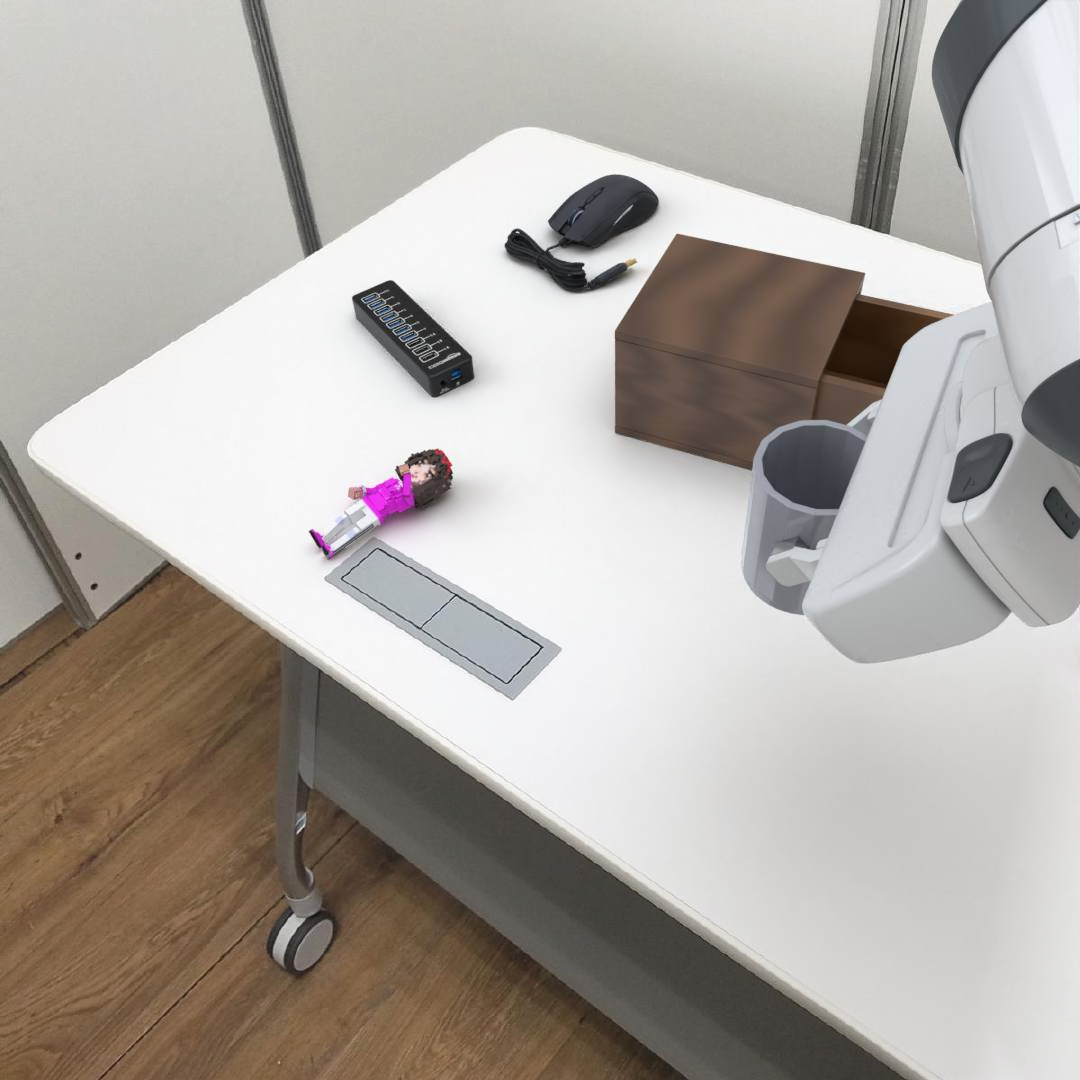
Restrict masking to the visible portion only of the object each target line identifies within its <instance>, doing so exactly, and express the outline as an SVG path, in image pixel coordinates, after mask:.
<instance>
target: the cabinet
mask: <svg viewBox="0 0 1080 1080" xmlns="http://www.w3.org/2000/svg"><path fill="white" fill-rule="evenodd" d="M865 277H866V272H863V271H858V270H855V269H854V270H853V269H848V268H843V267H840V266H834V265H829V264H824V263H821V262H816V261H810V260H806V259H801V258H796V257H791V256H786V255H782V254H777V253H773V252H768V251H763V250H759V249H758V250H757V249H753V248H748V247H744V246H739V245H734V244H730V243H725V242H720V241H715V240H710V239H707V238H706V239H705V238H700V237H696V236H691V235H686V234H682V233H676V234H675V235H674V237H673V239H672V240H671V242H670V243H669V245H668V247H667V248H666V249H665V251H664V252H663V254H662V255H661V258H660V259H659V260H658V262H657V264H656V265H655V267H654V269H653V270H652V271H651V273H650V274H649V276H648V278H647V279H646V280H645V282H644V284H643V286H642V287H641V289H640V290H639V292H638V294H637V295H636V296H635V298H634V300H633V301H632V303H631V304H630V306H629V308H627V311H626V312H625V314H624V316H623V317H622V319H621V320H620V322H619V323H618V325H617V327H616V328H615V330H614V434H618V435H621V436H626V437H629V438H633V439H637V440H640V441H642V442H648V443H651V444H655V445H658V446H662V447H666V448H669V449H673V450H676V451H680V452H683V453H687V454H692V455H695V456H698V457H702V458H705V459H709V460H713V461H717V462H720V463H724V464H728V465H732V466H735V467H739V468H743V469H746V470H749V471H752V468H753V460H754V456H755V454H756V451H757V449H758V447H759V445H760V443H761V441H762V440H763V439H764V438H765V437H767V436H768V435H769V434H770V433H772V432H773V431H774V430H776V429H777V428H779V427H781V426H784V425H787V424H791V423H794V422H797V421H801V420H813V417H814V411H815V406H816V401H817V395H818V390H819V384H820V381H821V378H822V376H823V374H824V372H825V369H826V367H827V365H828V362H829V360H830V358H831V355H832V353H833V351H834V348H835V346H836V344H837V342H838V339H839V337H840V335H841V332H842V330H843V328H844V325H845V323H846V321H847V319H848V316H849V314H850V312H851V309H852V307H853V305H854V302H855V300H856V298H857V295H858V294H861V295H862V292H863V286H864V282H865Z"/></svg>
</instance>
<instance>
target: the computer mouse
mask: <svg viewBox="0 0 1080 1080" xmlns="http://www.w3.org/2000/svg"><path fill="white" fill-rule="evenodd" d="M659 205H660V201H659V197H658V195H657V194H656V193H655V191H653V190H652V189H651V188H650V187H649V186H648V185H647V184H645V183H644V182H642V181H640V180H639V179H636V178H635V177H632V176H628V175H625V174H619V173H618V174H617V173H616V174H615V173H613V174H608V175H603V176H601V177H599V178H597V179H594V180H593V181H591V182H589V183H587V184H586V185H584V186H582V187H581V188H580V189H577V190H576V191H575V192H574V193H572V194H571V195H570V196H568V198H566V199H565V200H564V201H563V203H561V205H560V206H559V207H558V208H557V209H556V210H555V212H554V213H553V214H552V215H551V216H550V218H549V219H548V220H547V223H548V225H549V227H550V228H551V229H552V230H553V231H554V232H555V233H556V234H558V235H560V236H562V237H563V238H561V239H559V240H558V243H556V244H554V245H551V246H549V247H547V248H546V249H543V248H542V247H541V245H539V243H538V242H536V240H535V239H533V238H532V237H531V236H530V235H529V234H528V233H526V231H524V230H522V229H520V228H518V227H517V228H514V229H512V230H511V232H510V233H509V234H508V235H507V236H506V237H507V240H506V242H505V243H504V248H505V251H506V252H507V254H508V255H509V256H511V257H513V258H516V259H520V260H524V261H526V262H532V263H535V264H536V266H537V267H538V269H539V270H541V271H542V270H545V271H546V272H547V273H548V274H549V277H551V279H552V280H553V281H554V282H555V283H556V285H558V286H559V287H561V288H563V289H564V290H568V291H572V292H581V291H586V290H588V289H589V290H591V291H593V290H594V289H596V288H598V287H599V286H602V285H604V284H605V283H608V282H610V281H611V280H613V279H614V278H616V277H618V276H620V275H622V274H623V273H625V272H627V271H628V269H629V268H630V267H632V266H634V265H635V264H637V263H638V261H637V259H636V258H635V257H634V258H631V259H628V260H627V261H625V262H619V263H617V264H615V265H613V266H612V267H609V268H608V269H606V270H605V271H603V272H600V274H598V275H597V276H595V277H594V278H592V279H591V280H590V281H588V279H587V277H586V276H587V273H586V270H585V269H583V268H584V267H585V265H586V264H585V262H581V261H576V262H572V261H567V260H562V259H559V258H557V257H555V256H554V255H553V254H552V253H551V250H553V249H556V248H559V247H564V246H565V245H566V244H568V243H570V242H573V243H578V244H580V245H584V246H587V247H591V248H597V247H599V246H600V245H602V244H603V243H605V242H606V241H607V240H608V239H610V238H613V237H614V236H615V235H617V234H619V233H622V232H623V231H627V230H629V229H631V228H634V227H636V226H638V225H640V224H642V223H643V222H645V221H646V220H648V219H649V218H650V217H651V216H652V215H653V214H654V213H655V212H656V210H657V208H658V206H659Z"/></svg>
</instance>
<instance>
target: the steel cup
mask: <svg viewBox="0 0 1080 1080" xmlns="http://www.w3.org/2000/svg"><path fill="white" fill-rule="evenodd" d="M866 439H867V435H865V434H863V433H862V432H860V431H858V430H857V429H855V428H853V427H851V426H848V425H844V424H840V423H836V422H832V421H829V420H801V421H797V422H794V423H791V424H787V425H784V426H781V427H779V428H777V429H776V430H774V431H773V432H772V433H770V434H769V435H768V436H767V437H765V438H764V439H763V440H762V441H761V443H760V445H759V447H758V449H757V451H756V454H755V456H754V460H753V468H752V470H751V476H750V484H749V492H748V499H747V507H746V515H745V523H744V531H743V539H742V547H741V552H740V553H741V562H740V563H741V571H742V572H741V573H742V576H743V578H744V581H745V583H746V585H747V586H748V588H749V589H750V590H751V592H752V593H753V594H754V595H755V596H756V597H757V598H758V599H759V600H761V601H762V602H764V603H765V604H766V605H768V606H769V607H772V608H774V609H776V610H779V611H781V612H784V613H788V614H791V615H797V616H805V615H804V613H803V610H802V603H803V599H804V597H805V594H806V592H807V590H808V587H809V585H810V582H811V581H808V582H804V583H801V584H797V585H793V586H784V585H782V584H780V583H779V582H778V581H777V580H776V579H775V578H774V577H773V576H772V575H771V574H770V573H769V572H768V571H767V569H766V563H767V561H768V559H769V557H770V554H771V552H772V550H773V548H774V546H775V544H776V543H777V542H779V541H783V542H784V541H785V540H787V539H790V538H793V537H796V536H799V537H800V538H801V539H802V540H803V541H804V542H805V543H806V544H807V546H808V548H809V549H810V550H817V549H816V546H817V543H818V542H819V541H820V540H823V539H826V538H828V536H829V534H830V531H831V529H832V526H833V523H834V521H835V518H836V516H837V513H838V511H839V508H840V505H841V503H842V500H843V498H844V495H845V493H846V490H847V488H848V485H849V482H850V480H851V477H852V475H853V472H854V470H855V467H856V465H857V462H858V459H859V457H860V454H861V452H862V449H863V447H864V444H865V441H866Z"/></svg>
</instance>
